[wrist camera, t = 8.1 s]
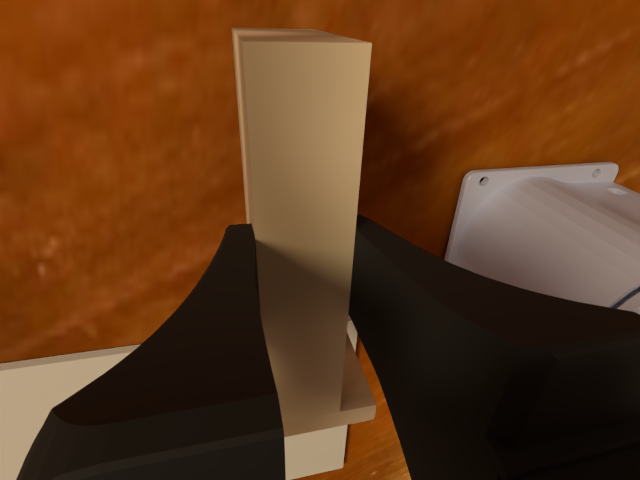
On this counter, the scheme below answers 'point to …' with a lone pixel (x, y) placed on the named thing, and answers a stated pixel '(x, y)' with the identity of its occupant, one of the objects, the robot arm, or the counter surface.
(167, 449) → the robot arm
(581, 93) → the counter surface
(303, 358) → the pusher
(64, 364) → the mat
